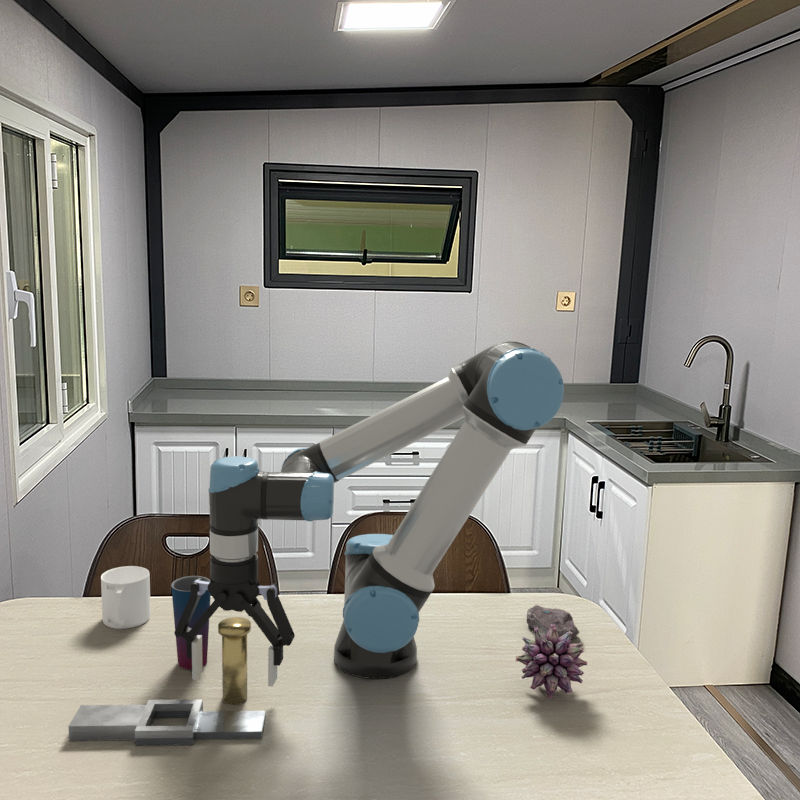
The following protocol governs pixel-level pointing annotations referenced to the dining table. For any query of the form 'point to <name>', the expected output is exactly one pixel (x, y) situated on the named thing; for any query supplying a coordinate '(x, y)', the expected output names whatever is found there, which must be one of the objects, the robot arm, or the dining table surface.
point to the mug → (125, 597)
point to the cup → (179, 603)
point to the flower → (552, 661)
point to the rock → (551, 620)
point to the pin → (234, 659)
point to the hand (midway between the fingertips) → (234, 679)
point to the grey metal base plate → (139, 720)
